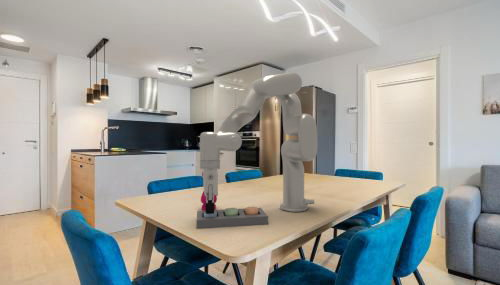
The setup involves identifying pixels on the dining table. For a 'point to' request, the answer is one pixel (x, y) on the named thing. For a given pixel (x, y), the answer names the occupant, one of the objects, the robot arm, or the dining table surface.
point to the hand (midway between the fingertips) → (209, 213)
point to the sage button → (231, 212)
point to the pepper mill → (203, 200)
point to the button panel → (231, 219)
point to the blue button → (210, 214)
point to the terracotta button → (251, 210)
